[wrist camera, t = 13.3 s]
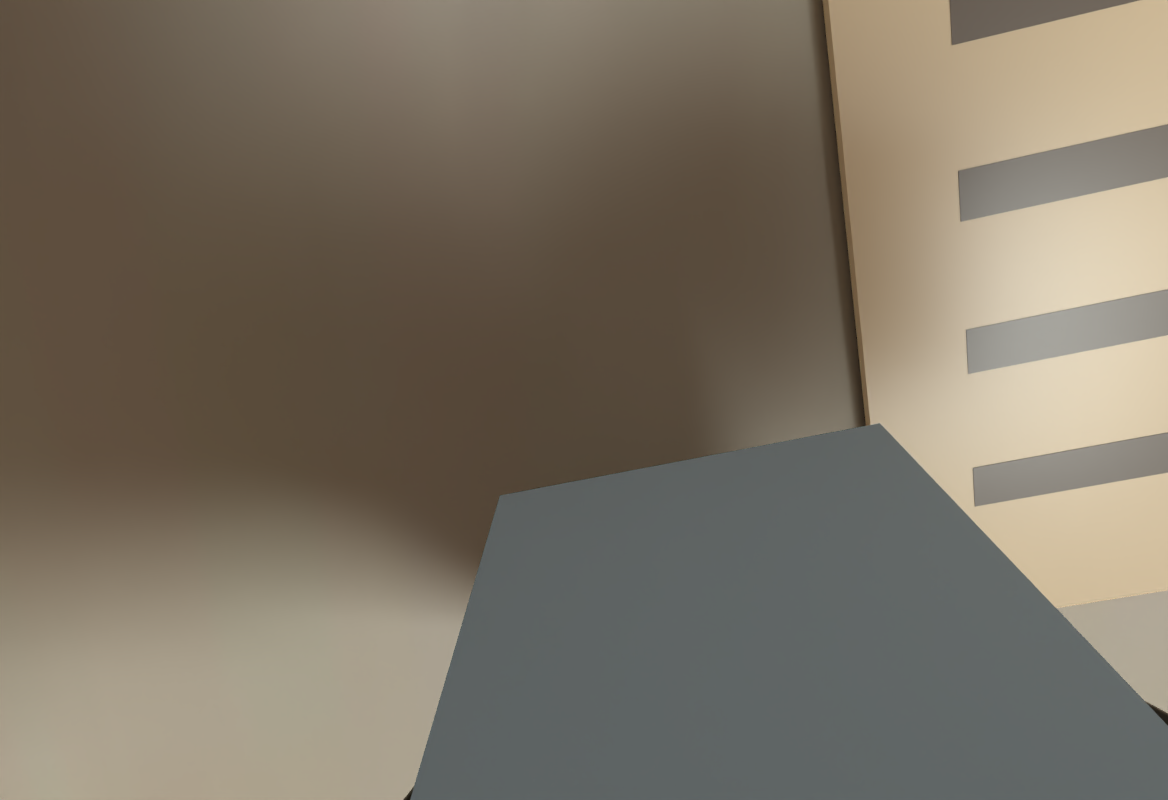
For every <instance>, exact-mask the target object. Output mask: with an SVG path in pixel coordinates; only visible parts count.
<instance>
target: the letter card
mask: <svg viewBox="0 0 1168 800" xmlns="http://www.w3.org/2000/svg"><path fill="white" fill-rule="evenodd" d="M823 9H824V19H825V29H826V38H827V48H828V58H829V68H830V78H831V88H832V97H833V107H834V117H835V127H836V137H837V147H838V157H839V166H840V176H841V186H842V196H843V206H844V216H845V225H846V235H847V245H848V255H849V265H850V275H851V284H852V294H853V304H854V314H855V324H856V334H857V344H858V353H859V363H860V373H861V383H862V393H863V403H864V412H865V422H866V426H868V425H873V424H878V423H880V424H881V425H882V426H883V427H884V428H885V429H886V430H887V431H888V432H889V433H890V434H891V435H892V436H893V437H894V438H895V439H896V441H897V442H898V443H899V444H900V445H901V446H902V447H903V448H904V449H905V450H906V451H907V452H908V453H909V454H910V455H911V456H912V457H913V458H914V459H915V460H916V462H917V463H918V464H919V465H920V466H921V467H922V468H923V469H924V470H925V471H926V472H927V473H928V474H929V475H930V476H931V477H932V478H933V479H934V480H935V482H936V483H937V484H938V485H939V486H940V487H941V488H942V489H943V490H944V491H945V492H946V493H947V494H948V495H949V496H950V497H951V498H952V499H953V500H954V501H955V503H956V504H957V505H958V506H959V507H960V508H961V509H962V510H963V511H964V512H965V513H966V514H967V515H968V516H969V517H970V518H971V519H972V520H973V521H974V522H975V524H976V525H977V526H978V527H979V528H980V529H981V530H982V531H983V532H984V533H985V534H986V535H987V536H988V537H989V538H990V539H991V540H992V541H993V542H994V544H995V545H996V546H997V547H998V548H999V549H1000V550H1001V551H1002V552H1003V553H1004V554H1005V555H1006V556H1007V557H1008V558H1009V559H1010V560H1011V561H1012V562H1013V563H1014V565H1015V566H1016V567H1017V568H1018V569H1019V570H1020V571H1021V572H1022V573H1023V574H1024V575H1025V576H1026V577H1027V578H1028V579H1029V580H1030V581H1031V582H1032V583H1033V584H1034V586H1035V587H1036V588H1037V589H1038V590H1039V591H1040V592H1041V593H1042V594H1043V595H1044V596H1045V597H1046V598H1047V599H1048V600H1049V601H1050V602H1051V603H1052V604H1053V606H1054V607H1055V608H1061V607H1067V606H1073V605H1080V604H1086V603H1092V602H1098V601H1104V600H1111V599H1117V598H1123V597H1129V596H1136V595H1142V594H1148V593H1154V592H1160V591H1167V590H1168V0H823Z"/></svg>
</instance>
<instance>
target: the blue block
mask: <svg viewBox="0 0 1168 800" xmlns="http://www.w3.org/2000/svg"><path fill="white" fill-rule="evenodd" d="M410 800H1168V725H1167V724H1166V723H1165V722H1164V721H1163V720H1162V719H1161V718H1160V717H1159V716H1158V715H1157V714H1156V713H1155V712H1154V711H1153V710H1152V708H1151V707H1150V706H1149V705H1148V704H1147V703H1146V702H1145V701H1144V700H1143V699H1142V698H1141V697H1140V696H1139V695H1138V694H1137V693H1136V692H1135V691H1134V690H1133V689H1132V687H1131V686H1130V685H1129V684H1128V683H1127V682H1126V681H1125V680H1124V679H1123V678H1122V677H1121V676H1120V675H1119V674H1118V673H1117V672H1116V671H1115V670H1114V669H1113V668H1112V666H1111V665H1110V664H1109V663H1108V662H1107V661H1106V660H1105V659H1104V658H1103V657H1102V656H1101V655H1100V654H1099V653H1098V652H1097V651H1096V650H1095V649H1094V648H1093V646H1092V645H1091V644H1090V643H1089V642H1088V641H1087V640H1086V639H1085V638H1084V637H1083V636H1082V635H1081V634H1080V633H1079V632H1078V631H1077V630H1076V629H1075V628H1074V627H1073V625H1072V624H1071V623H1070V622H1069V621H1068V620H1067V619H1066V618H1065V617H1064V616H1063V615H1062V614H1061V613H1060V612H1059V611H1058V610H1057V609H1056V608H1055V607H1054V606H1053V604H1052V603H1051V602H1050V601H1049V600H1048V599H1047V598H1046V597H1045V596H1044V595H1043V594H1042V593H1041V592H1040V591H1039V590H1038V589H1037V588H1036V587H1035V586H1034V584H1033V583H1032V582H1031V581H1030V580H1029V579H1028V578H1027V577H1026V576H1025V575H1024V574H1023V573H1022V572H1021V571H1020V570H1019V569H1018V568H1017V567H1016V566H1015V565H1014V563H1013V562H1012V561H1011V560H1010V559H1009V558H1008V557H1007V556H1006V555H1005V554H1004V553H1003V552H1002V551H1001V550H1000V549H999V548H998V547H997V546H996V545H995V544H994V542H993V541H992V540H991V539H990V538H989V537H988V536H987V535H986V534H985V533H984V532H983V531H982V530H981V529H980V528H979V527H978V526H977V525H976V524H975V522H974V521H973V520H972V519H971V518H970V517H969V516H968V515H967V514H966V513H965V512H964V511H963V510H962V509H961V508H960V507H959V506H958V505H957V504H956V503H955V501H954V500H953V499H952V498H951V497H950V496H949V495H948V494H947V493H946V492H945V491H944V490H943V489H942V488H941V487H940V486H939V485H938V484H937V483H936V482H935V480H934V479H933V478H932V477H931V476H930V475H929V474H928V473H927V472H926V471H925V470H924V469H923V468H922V467H921V466H920V465H919V464H918V463H917V462H916V460H915V459H914V458H913V457H912V456H911V455H910V454H909V453H908V452H907V451H906V450H905V449H904V448H903V447H902V446H901V445H900V444H899V443H898V442H897V441H896V439H895V438H894V437H893V436H892V435H891V434H890V433H889V432H888V431H887V430H886V429H885V428H884V427H883V426H882V425H881V424H880V423H878V424H873V425H868V426H862V427H857V428H852V429H847V430H841V431H836V432H831V433H826V434H820V435H815V436H810V437H805V438H799V439H794V440H789V441H784V442H778V443H773V444H768V445H763V446H757V447H752V448H747V449H742V450H736V451H731V452H726V453H721V454H715V455H710V456H705V457H700V458H694V459H689V460H684V461H678V462H673V463H668V464H663V465H657V466H652V467H647V468H642V469H636V470H631V471H626V472H621V473H615V474H610V475H605V476H600V477H594V478H589V479H584V480H579V481H573V482H568V483H563V484H558V485H552V486H547V487H542V488H537V489H531V490H526V491H521V492H516V493H510V494H505V495H500V497H499V500H498V504H497V507H496V511H495V514H494V517H493V521H492V524H491V528H490V531H489V534H488V538H487V541H486V544H485V548H484V551H483V555H482V558H481V561H480V565H479V568H478V572H477V575H476V578H475V582H474V585H473V589H472V592H471V595H470V599H469V602H468V606H467V609H466V612H465V616H464V619H463V622H462V626H461V629H460V633H459V636H458V639H457V643H456V646H455V650H454V653H453V656H452V660H451V663H450V667H449V670H448V673H447V677H446V680H445V684H444V687H443V690H442V694H441V697H440V700H439V704H438V707H437V711H436V714H435V717H434V721H433V724H432V728H431V731H430V734H429V738H428V741H427V745H426V748H425V751H424V755H423V758H422V762H421V765H420V768H419V772H418V775H417V778H416V782H415V785H414V789H413V792H412V795H411V799H410Z"/></svg>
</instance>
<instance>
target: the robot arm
mask: <svg viewBox="0 0 1168 800" xmlns="http://www.w3.org/2000/svg"><path fill="white" fill-rule="evenodd" d="M1145 702H1146V701H1145ZM1146 703H1147V704H1148V705H1149V706H1150V707H1151V708H1152V710H1153V711H1154V712H1155V713H1156V714H1157V715H1158V716H1159V717H1160V718H1161V719H1162V720H1163V721H1164V722H1165V723H1166V724H1167V725H1168V713H1166V712H1164V711H1163V710H1161V709H1159V708H1157V707H1155V706H1153V705H1151V704H1149V703H1148V702H1146ZM413 789H414V787H413V788H412V790H411V791H410V792H409V793H408V795H407V796H406V797H405V798H404V800H410V799H411V795H412V792H413Z"/></svg>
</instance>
